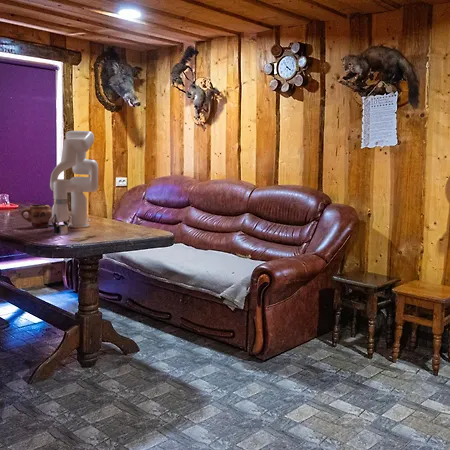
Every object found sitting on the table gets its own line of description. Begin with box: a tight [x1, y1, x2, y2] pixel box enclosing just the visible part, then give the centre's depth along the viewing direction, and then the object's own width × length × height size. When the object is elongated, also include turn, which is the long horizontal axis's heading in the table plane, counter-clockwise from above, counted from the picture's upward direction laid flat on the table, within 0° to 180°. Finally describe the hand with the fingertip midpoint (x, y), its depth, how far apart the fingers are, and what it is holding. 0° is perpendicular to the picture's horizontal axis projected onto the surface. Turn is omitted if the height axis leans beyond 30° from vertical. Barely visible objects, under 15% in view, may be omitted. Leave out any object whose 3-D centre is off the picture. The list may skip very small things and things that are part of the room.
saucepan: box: [45, 224, 69, 236], centre depth 303 cm, size 15×8×5 cm, turn 70°
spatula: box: [69, 234, 96, 242], centre depth 288 cm, size 18×6×1 cm, turn 160°
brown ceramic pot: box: [20, 204, 52, 229], centre depth 325 cm, size 20×12×14 cm, turn 133°
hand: (61, 232), depth 302 cm, fingers closed on saucepan, 7 cm apart
